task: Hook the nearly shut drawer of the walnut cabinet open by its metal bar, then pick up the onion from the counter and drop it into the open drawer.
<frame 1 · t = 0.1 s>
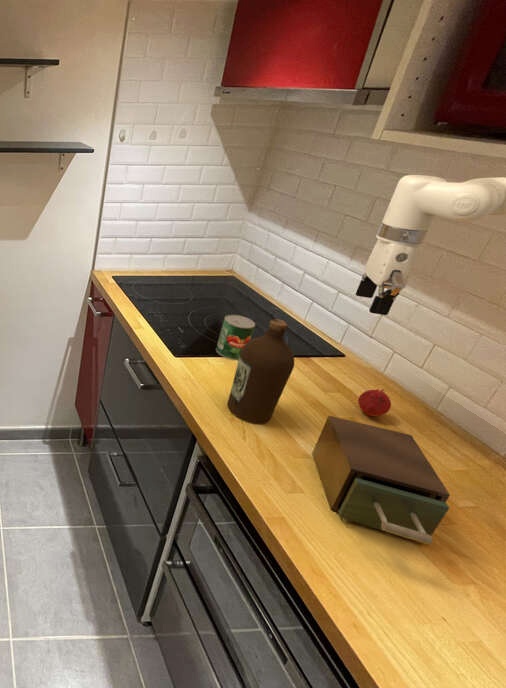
hand: (370, 304, 103), 27 cm above the worktop, tool pointing down, fingers open, 9 cm apart
cabinet: (361, 491, 88), on the worktop
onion: (368, 415, 109), on the worktop
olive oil: (247, 411, 110), on the worktop
drawer: (382, 493, 81), point 5 cm above the worktop, slide at 1.0 cm
canned tomato: (229, 353, 134), on the worktop
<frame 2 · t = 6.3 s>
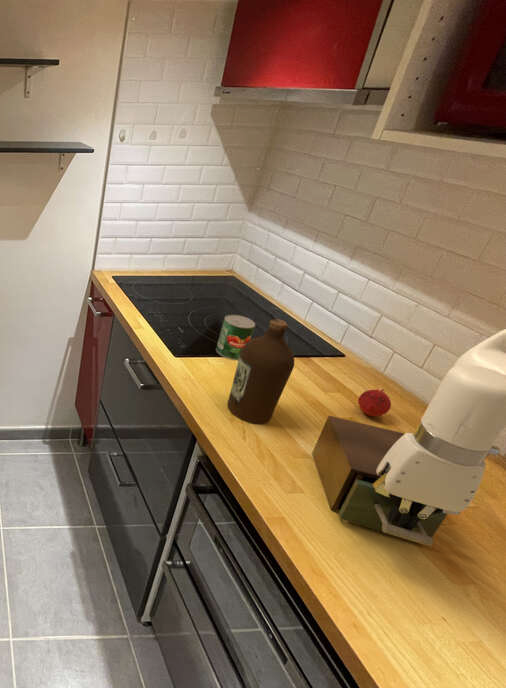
hand: (398, 525, 75), 6 cm above the worktop, tool pointing down, fingers closed
drawer: (383, 495, 81), point 5 cm above the worktop, slide at 1.4 cm
everything else where it was.
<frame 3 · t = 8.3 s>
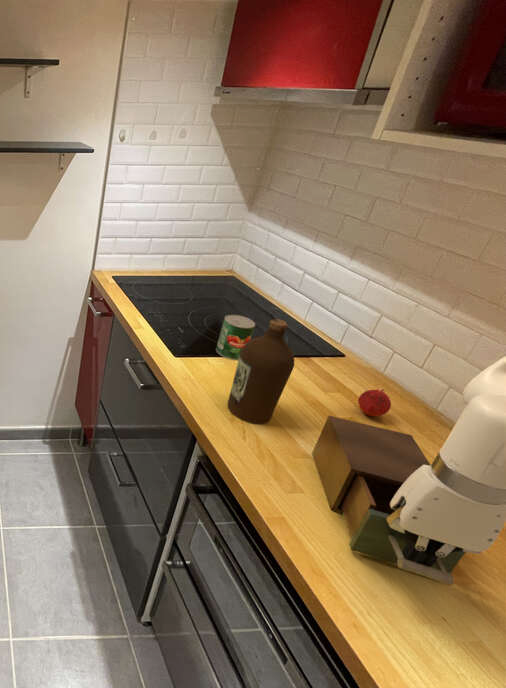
hand: (414, 563, 70), 5 cm above the worktop, tool pointing down, fingers closed
drawer: (397, 524, 75), point 5 cm above the worktop, slide at 7.9 cm
everything else where it was.
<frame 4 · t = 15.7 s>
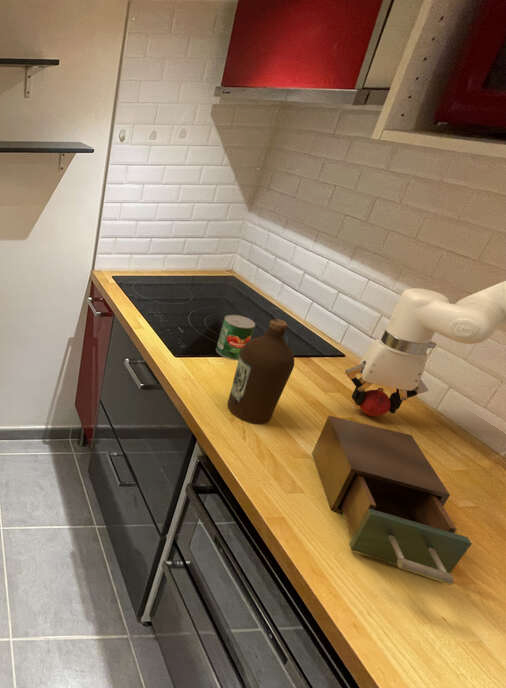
hand: (373, 405, 108), 3 cm above the worktop, tool pointing down, fingers closed on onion, 5 cm apart
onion: (368, 415, 109), on the worktop, touching gripper
everything else where it was.
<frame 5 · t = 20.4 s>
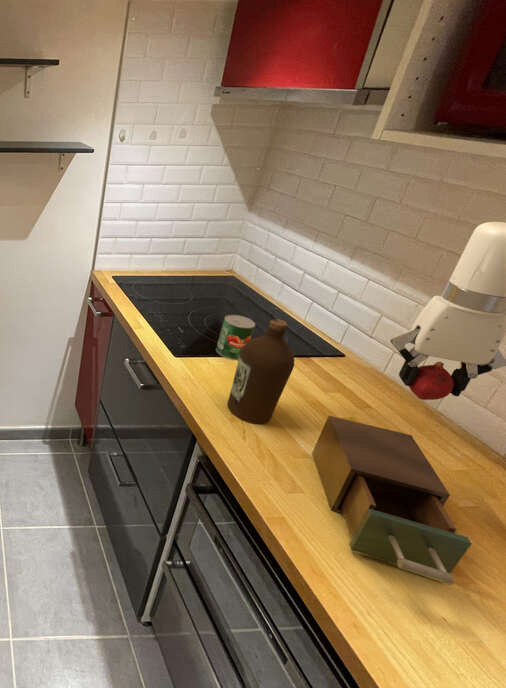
hand: (428, 386, 81), 23 cm above the worktop, tool pointing down, fingers closed on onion, 5 cm apart
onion: (420, 400, 82), point 20 cm above the worktop, touching gripper
everything else where it was.
when the fingers open (11 cm above the worktop, at t = 25.2 s): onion moves 1 cm, resting on drawer.
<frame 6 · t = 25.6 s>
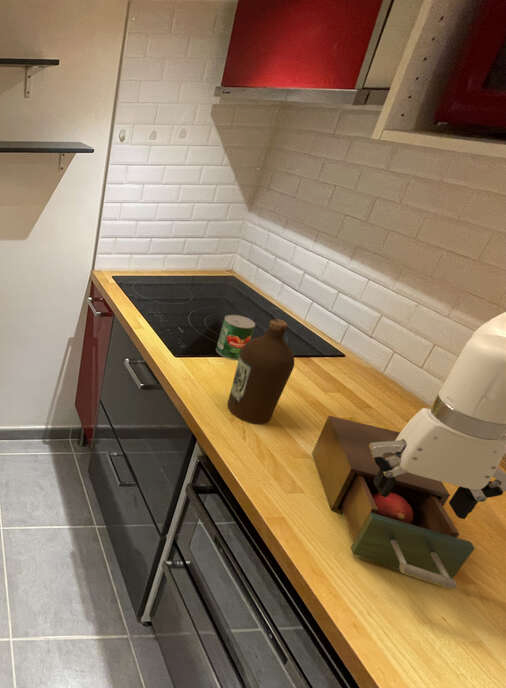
hand: (417, 500, 72), 12 cm above the worktop, tool pointing down, fingers open, 9 cm apart
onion: (402, 515, 75), point 7 cm above the worktop, touching drawer
drawer: (399, 528, 75), point 5 cm above the worktop, slide at 8.8 cm, touching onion
everything else where it was.
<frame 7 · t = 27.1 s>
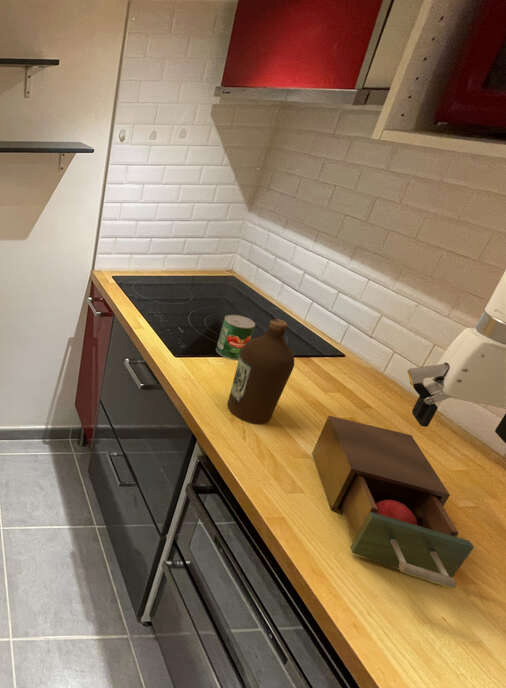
hand: (460, 429, 67), 26 cm above the worktop, tool pointing down, fingers open, 9 cm apart
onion: (387, 533, 75), point 4 cm above the worktop, touching drawer
everything else where it was.
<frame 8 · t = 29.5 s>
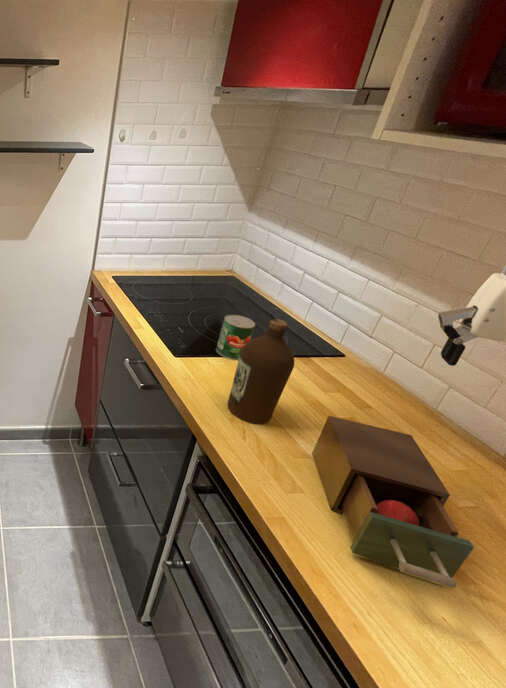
hand: (485, 368, 74), 30 cm above the worktop, tool pointing down, fingers open, 9 cm apart
nothing on the worktop moved.
at the end: drawer slide at 8.6 cm; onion inside the target area in the drawer (1.9 cm from its centre), point 4.9 cm above the cabinet's base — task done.
